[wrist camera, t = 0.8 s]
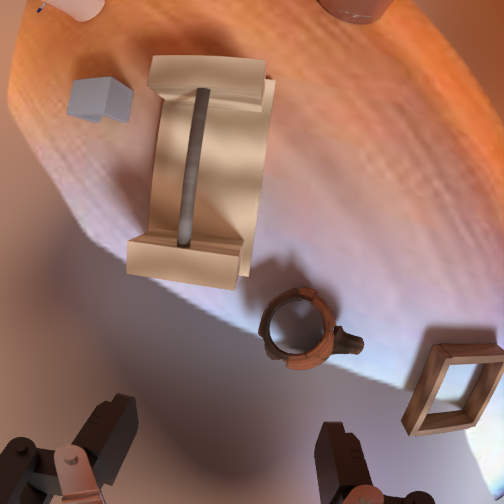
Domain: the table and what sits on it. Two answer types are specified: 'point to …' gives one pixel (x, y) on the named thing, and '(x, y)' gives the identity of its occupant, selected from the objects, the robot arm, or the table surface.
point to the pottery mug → (327, 345)
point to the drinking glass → (78, 8)
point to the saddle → (100, 99)
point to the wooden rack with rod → (205, 170)
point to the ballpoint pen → (42, 7)
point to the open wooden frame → (432, 379)
